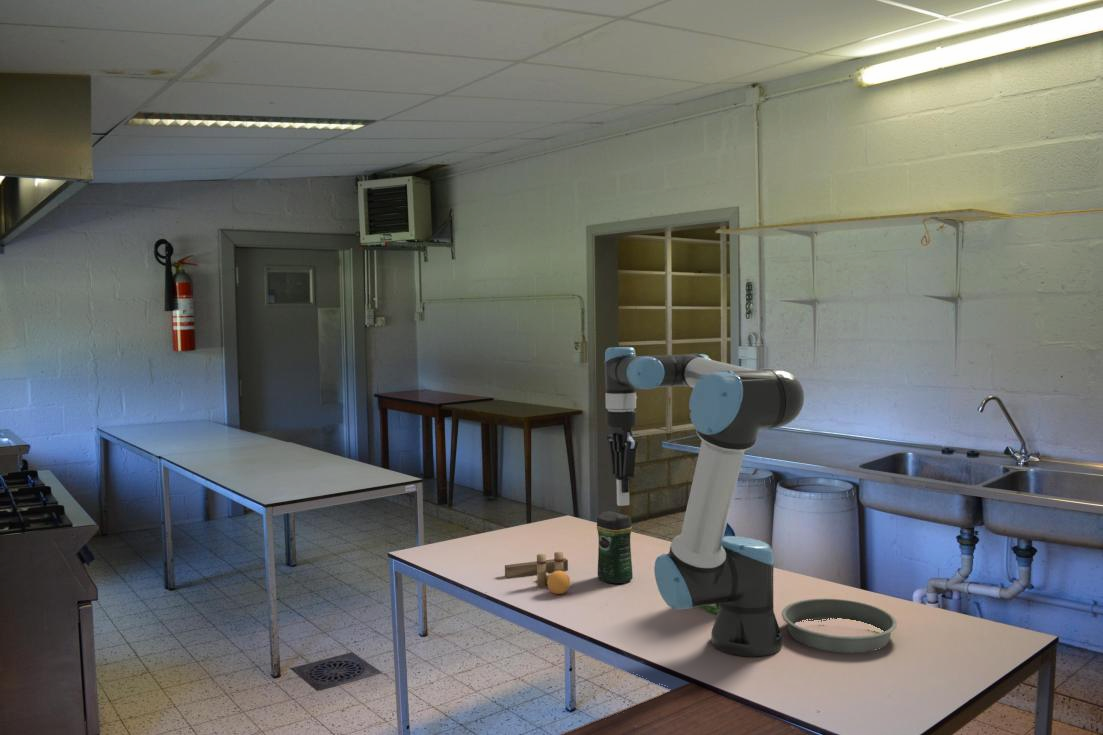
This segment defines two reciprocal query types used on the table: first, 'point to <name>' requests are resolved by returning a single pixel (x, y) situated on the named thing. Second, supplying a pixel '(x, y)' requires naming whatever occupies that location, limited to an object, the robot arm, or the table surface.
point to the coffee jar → (614, 547)
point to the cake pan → (836, 609)
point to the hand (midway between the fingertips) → (623, 504)
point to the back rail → (531, 568)
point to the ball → (558, 582)
